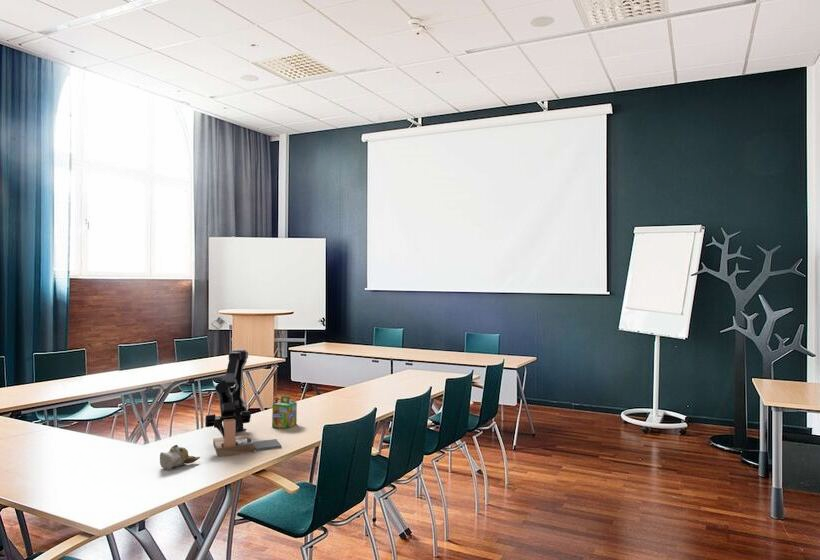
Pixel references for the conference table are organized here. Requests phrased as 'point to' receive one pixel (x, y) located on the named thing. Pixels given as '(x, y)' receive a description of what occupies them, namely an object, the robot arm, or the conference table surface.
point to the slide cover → (244, 442)
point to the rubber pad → (266, 444)
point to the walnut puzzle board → (234, 449)
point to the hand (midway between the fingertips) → (229, 435)
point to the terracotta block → (229, 432)
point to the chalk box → (284, 413)
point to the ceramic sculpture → (176, 457)
